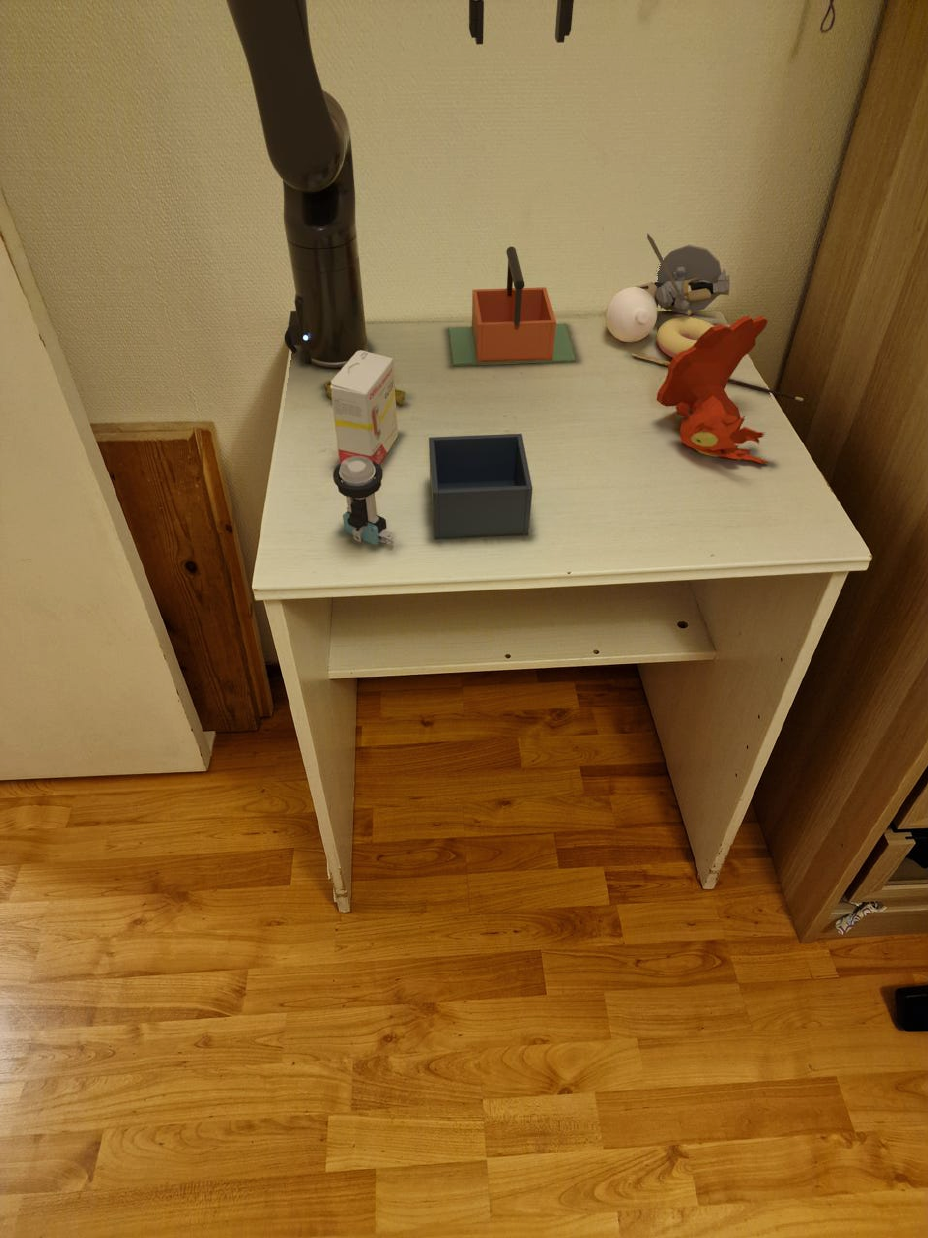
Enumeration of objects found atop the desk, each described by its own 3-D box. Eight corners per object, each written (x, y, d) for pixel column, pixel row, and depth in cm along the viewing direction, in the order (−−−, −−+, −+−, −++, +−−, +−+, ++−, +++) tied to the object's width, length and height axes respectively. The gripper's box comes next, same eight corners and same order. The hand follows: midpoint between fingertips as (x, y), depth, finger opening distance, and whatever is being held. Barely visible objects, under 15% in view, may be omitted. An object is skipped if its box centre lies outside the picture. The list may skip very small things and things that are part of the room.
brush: (630, 352, 117) (803, 399, 110) (633, 349, 118) (804, 395, 111) (629, 357, 118) (801, 404, 111) (632, 354, 119) (802, 400, 112)
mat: (453, 366, 116) (453, 363, 116) (448, 330, 123) (448, 327, 123) (575, 361, 117) (575, 359, 117) (564, 326, 124) (565, 323, 124)
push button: (406, 534, 94) (401, 466, 86) (378, 561, 91) (371, 493, 83) (361, 513, 96) (352, 444, 88) (332, 538, 93) (321, 470, 85)
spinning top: (618, 347, 128) (649, 355, 117) (581, 321, 125) (608, 326, 114) (645, 302, 126) (679, 306, 115) (608, 275, 123) (639, 276, 112)
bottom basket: (434, 539, 93) (432, 493, 88) (430, 483, 99) (428, 437, 94) (528, 534, 94) (532, 488, 88) (518, 479, 100) (521, 433, 95)
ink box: (374, 475, 100) (366, 393, 91) (338, 466, 101) (326, 385, 92) (400, 435, 106) (395, 355, 97) (366, 428, 107) (357, 347, 98)
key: (408, 388, 110) (393, 407, 107) (409, 396, 111) (394, 416, 108) (332, 371, 113) (315, 390, 110) (333, 379, 114) (316, 398, 111)
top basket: (477, 362, 116) (478, 281, 107) (471, 326, 123) (472, 247, 114) (552, 360, 117) (560, 278, 108) (542, 324, 123) (549, 244, 114)
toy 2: (640, 380, 100) (712, 464, 94) (761, 288, 97) (843, 369, 90) (658, 425, 111) (723, 503, 105) (767, 344, 108) (841, 419, 102)
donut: (687, 385, 117) (732, 358, 120) (695, 361, 113) (742, 333, 116) (641, 345, 121) (685, 320, 124) (647, 321, 117) (693, 295, 119)
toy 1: (714, 177, 108) (606, 203, 115) (710, 245, 105) (599, 268, 112) (734, 277, 125) (639, 294, 132) (731, 338, 122) (634, 353, 129)
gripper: (599, -179, 75) (579, 30, 87) (447, -179, 74) (449, 32, 87) (615, -170, 70) (592, 51, 82) (453, -169, 69) (454, 53, 82)
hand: (519, 41), depth 84 cm, fingers open, 8 cm apart
